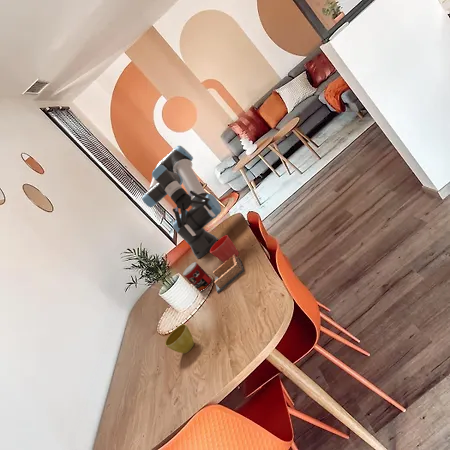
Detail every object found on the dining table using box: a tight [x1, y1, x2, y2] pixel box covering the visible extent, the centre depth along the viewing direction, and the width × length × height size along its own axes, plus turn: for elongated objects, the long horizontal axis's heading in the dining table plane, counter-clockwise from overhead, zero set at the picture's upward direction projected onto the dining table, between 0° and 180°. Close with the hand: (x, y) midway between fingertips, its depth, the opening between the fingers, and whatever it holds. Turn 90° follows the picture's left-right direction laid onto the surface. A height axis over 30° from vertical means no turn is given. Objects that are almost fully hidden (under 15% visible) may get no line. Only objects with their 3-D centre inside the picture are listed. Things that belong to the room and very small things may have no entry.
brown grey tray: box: [212, 255, 245, 294], centre depth 210 cm, size 16×14×4 cm
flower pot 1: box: [164, 323, 195, 354], centre depth 180 cm, size 10×10×7 cm
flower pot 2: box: [209, 234, 240, 263], centre depth 224 cm, size 11×11×10 cm
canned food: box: [182, 261, 213, 292], centre depth 221 cm, size 8×8×11 cm
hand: (204, 225), depth 234 cm, fingers open, 13 cm apart
